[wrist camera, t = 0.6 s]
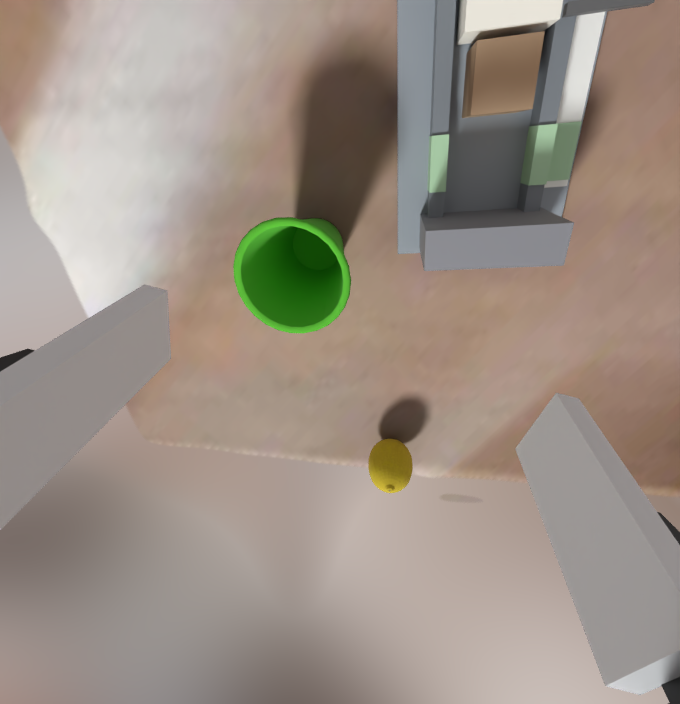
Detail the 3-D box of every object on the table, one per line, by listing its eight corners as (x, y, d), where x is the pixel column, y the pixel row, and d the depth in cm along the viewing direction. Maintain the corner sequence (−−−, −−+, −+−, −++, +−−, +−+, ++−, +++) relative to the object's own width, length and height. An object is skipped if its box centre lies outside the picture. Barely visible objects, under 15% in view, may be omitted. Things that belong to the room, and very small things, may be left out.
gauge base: (397, -170, 22) (397, -314, 15) (651, -229, 20) (789, -431, 13) (397, 250, 35) (398, 278, 28) (550, 243, 33) (591, 270, 26)
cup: (325, 175, 32) (296, 189, 23) (379, 255, 36) (374, 297, 26) (256, 233, 36) (208, 265, 27) (312, 302, 39) (285, 352, 30)
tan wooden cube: (466, 53, 26) (477, 40, 23) (524, 45, 25) (544, 31, 22) (461, 118, 28) (470, 115, 25) (515, 112, 27) (532, 108, 24)
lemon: (369, 426, 47) (364, 473, 41) (411, 426, 46) (413, 475, 40) (371, 455, 50) (367, 504, 43) (411, 456, 49) (413, 507, 42)
